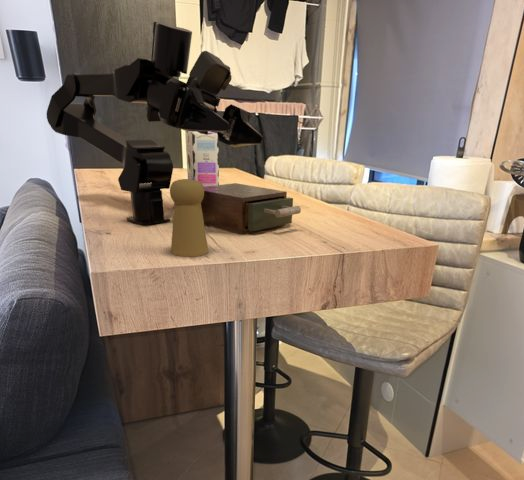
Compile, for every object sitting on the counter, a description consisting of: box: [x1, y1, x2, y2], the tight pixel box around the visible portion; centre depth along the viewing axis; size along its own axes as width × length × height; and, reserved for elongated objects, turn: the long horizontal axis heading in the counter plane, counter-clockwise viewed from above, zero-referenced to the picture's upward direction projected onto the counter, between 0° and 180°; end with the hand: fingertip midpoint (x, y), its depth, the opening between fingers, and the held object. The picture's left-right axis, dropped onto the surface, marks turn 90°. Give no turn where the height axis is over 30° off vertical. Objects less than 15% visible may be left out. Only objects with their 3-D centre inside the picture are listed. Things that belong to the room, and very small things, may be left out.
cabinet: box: [201, 182, 288, 235], centre depth 92 cm, size 15×13×7 cm
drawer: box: [245, 196, 302, 232], centre depth 89 cm, size 18×11×5 cm, turn 47°
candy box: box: [184, 130, 220, 187], centre depth 104 cm, size 14×6×16 cm, turn 14°
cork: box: [169, 178, 209, 258], centre depth 71 cm, size 6×6×11 cm
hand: (245, 134), depth 71 cm, fingers open, 9 cm apart
